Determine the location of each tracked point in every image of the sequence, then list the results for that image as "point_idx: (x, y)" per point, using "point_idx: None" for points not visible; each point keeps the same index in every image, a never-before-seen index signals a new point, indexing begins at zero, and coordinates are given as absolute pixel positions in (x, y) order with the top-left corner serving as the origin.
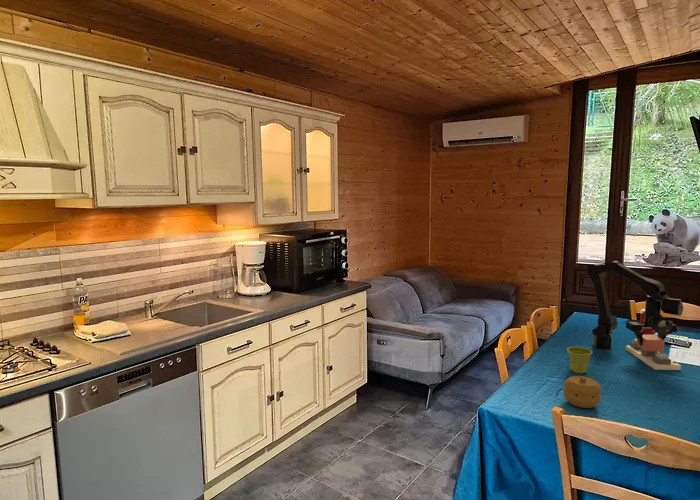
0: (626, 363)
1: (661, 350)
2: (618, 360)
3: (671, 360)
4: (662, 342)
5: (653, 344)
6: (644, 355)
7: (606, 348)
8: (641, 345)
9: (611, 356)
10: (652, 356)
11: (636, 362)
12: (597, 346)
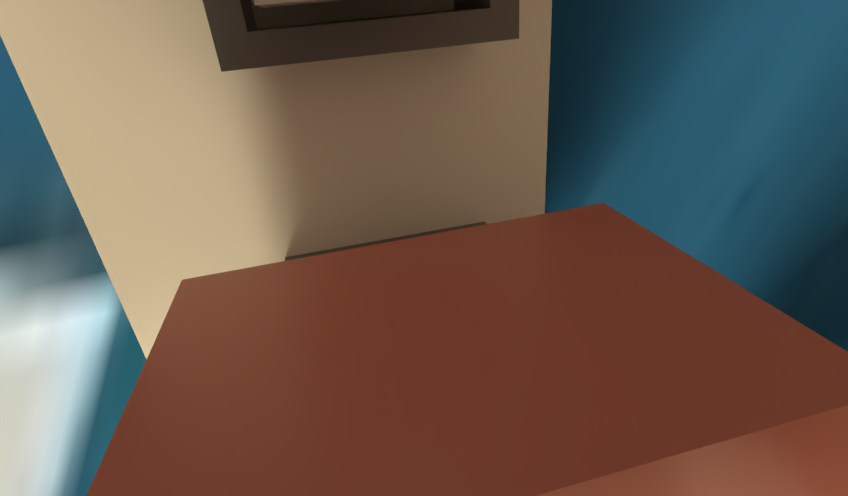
0: (776, 37)
1: (239, 283)
2: (792, 146)
3: (58, 82)
4: (180, 482)
5: (517, 334)
6: None
7: None
8: None
9: (773, 270)
10: (510, 31)
11: (621, 108)
12: None
